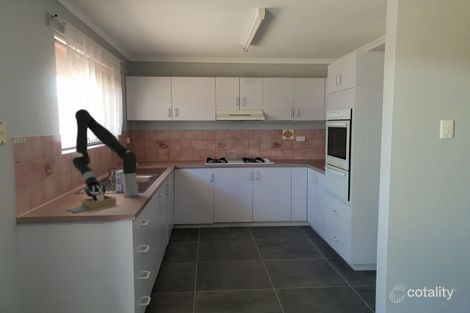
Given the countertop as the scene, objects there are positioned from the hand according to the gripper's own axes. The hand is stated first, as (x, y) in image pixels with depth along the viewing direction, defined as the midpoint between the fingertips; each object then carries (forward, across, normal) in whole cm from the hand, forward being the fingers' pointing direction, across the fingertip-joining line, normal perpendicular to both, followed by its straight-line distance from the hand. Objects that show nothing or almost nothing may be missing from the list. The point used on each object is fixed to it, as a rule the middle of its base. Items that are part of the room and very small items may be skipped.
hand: (100, 199), depth 217 cm
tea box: (+2, 0, +4) cm, 5 cm away
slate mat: (+2, -14, +4) cm, 15 cm away
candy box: (-20, +37, +26) cm, 50 cm away
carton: (+2, 0, +4) cm, 5 cm away
